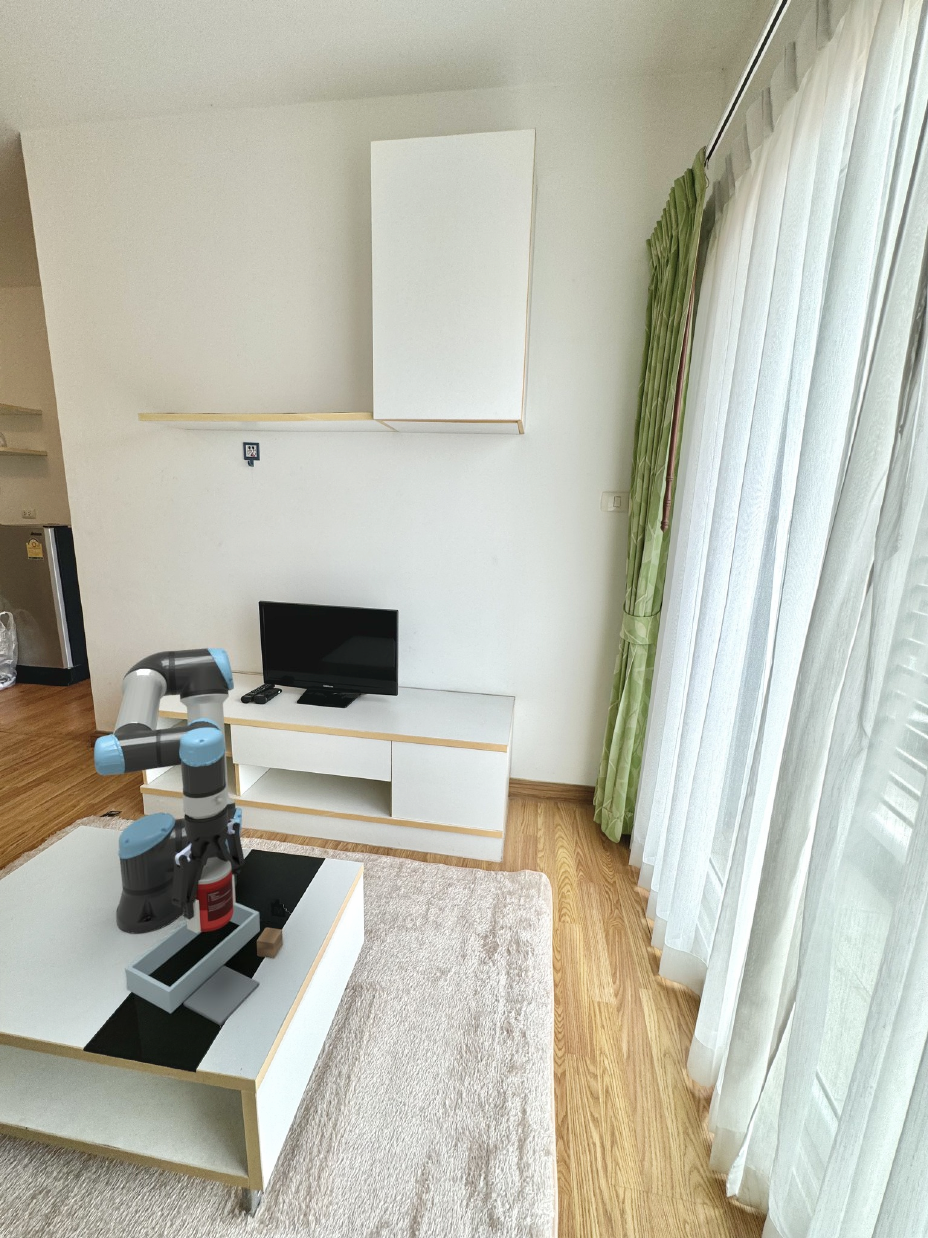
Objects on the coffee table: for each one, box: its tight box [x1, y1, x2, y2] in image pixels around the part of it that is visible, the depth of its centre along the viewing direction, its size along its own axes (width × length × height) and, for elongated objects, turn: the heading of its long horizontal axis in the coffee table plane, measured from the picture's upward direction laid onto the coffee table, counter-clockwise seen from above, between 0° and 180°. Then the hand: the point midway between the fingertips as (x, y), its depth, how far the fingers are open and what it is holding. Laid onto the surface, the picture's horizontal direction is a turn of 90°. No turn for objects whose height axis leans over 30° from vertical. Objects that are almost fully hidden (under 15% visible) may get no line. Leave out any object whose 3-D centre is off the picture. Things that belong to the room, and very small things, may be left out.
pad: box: [183, 964, 260, 1026], centre depth 110 cm, size 10×10×1 cm
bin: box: [124, 901, 261, 1014], centre depth 118 cm, size 13×24×5 cm, turn 157°
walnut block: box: [256, 927, 284, 960], centre depth 121 cm, size 4×4×4 cm
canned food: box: [195, 857, 234, 932], centre depth 106 cm, size 8×8×11 cm
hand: (212, 915), depth 107 cm, fingers closed on canned food, 8 cm apart
